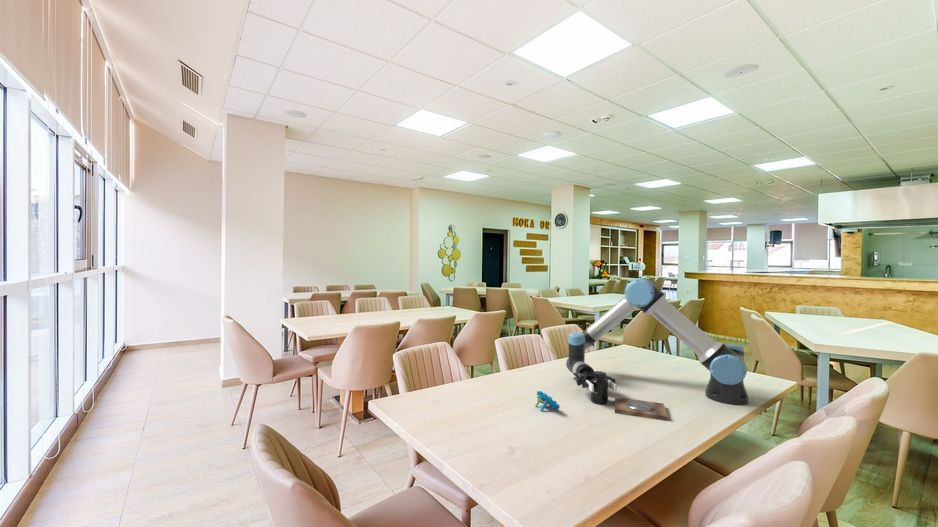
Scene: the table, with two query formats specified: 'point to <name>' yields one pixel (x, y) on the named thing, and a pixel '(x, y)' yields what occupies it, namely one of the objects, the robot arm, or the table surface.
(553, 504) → the table surface
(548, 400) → the gear
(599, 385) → the supplement bottle
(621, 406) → the walnut board
